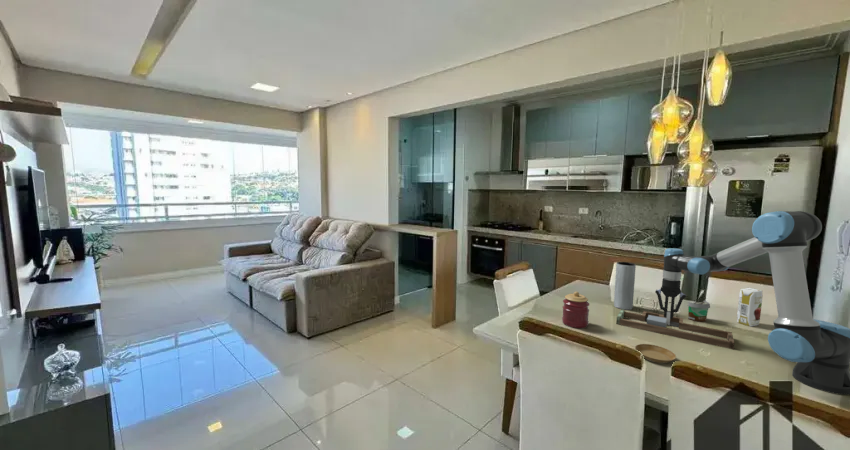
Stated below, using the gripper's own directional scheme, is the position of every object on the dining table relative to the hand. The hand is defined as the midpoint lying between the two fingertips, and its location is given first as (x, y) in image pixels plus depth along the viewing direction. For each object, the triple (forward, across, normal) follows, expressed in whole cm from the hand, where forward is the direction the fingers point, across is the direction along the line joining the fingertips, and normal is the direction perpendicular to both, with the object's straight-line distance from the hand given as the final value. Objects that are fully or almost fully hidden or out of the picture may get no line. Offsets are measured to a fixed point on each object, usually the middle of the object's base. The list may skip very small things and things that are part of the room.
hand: (667, 323), depth 176 cm
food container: (+3, -13, -27) cm, 30 cm away
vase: (+4, +24, -25) cm, 34 cm away
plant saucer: (+4, +2, +38) cm, 38 cm away
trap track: (+3, -1, -4) cm, 5 cm away
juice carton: (+3, -33, -37) cm, 50 cm away
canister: (+3, +39, +22) cm, 45 cm away
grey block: (+3, +5, +1) cm, 6 cm away
